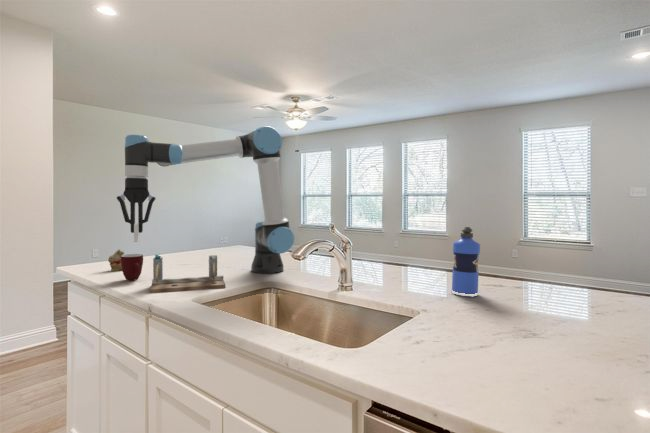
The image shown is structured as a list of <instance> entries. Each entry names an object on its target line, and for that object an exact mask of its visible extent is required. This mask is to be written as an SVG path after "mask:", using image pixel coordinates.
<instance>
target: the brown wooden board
mask: <svg viewBox="0 0 650 433" xmlns="http://www.w3.org/2000/svg"><path fill="white" fill-rule="evenodd" d="M222 288H223V289H225V288H226V283H225V280H224V275H217V276H215V279H213V277H209V275H208V276H193V277H192V276H191V277H176V278H175V277H174V278H162V280H158V282H156V280H153V279H152V280H151V286H150V289H149V293H150V294H151V293H152V292H154V293H165V292H167V293H168V292H178V291H180V292H181V291H182V292H183V291H193V290H207V289H208V290H212V289H222Z"/></svg>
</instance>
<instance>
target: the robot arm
mask: <svg viewBox="0 0 650 433" xmlns="http://www.w3.org/2000/svg"><path fill="white" fill-rule="evenodd" d="M124 138H125V139H124V141H125V142H124V176H125V179H124V188H125V189H124V191H123V193H122V194H121V195H117V196H116V200H117V201H118V202H119V204H120V208H121V211H122V215H123V216H122V217H123V219H124V222H125V223H128V224H130V233H133V242H134V243H138V242H140V233H143V231H144V230H143V227H144V226H143V225H144V224H145V223H147V222H149V218H150V214H151V212H152V207H153V204H154V202H155V200H156V199H157V198H156V197H155V196H152V195H151V194H150V192H149V179H148V177H149V163H151V164H152V163H153V164H154V163H156V164H157V165H159V166H161V167H162V168H163V167H164V168H165V167H170V166H175V165H181V164H189V163H196V162H204V161H210V160H217V159H223V158H224V159H225V158H234V157H238V158H240V159H242V158H244V159H245V158H252V160H253V162H254V163H255V164H256V165H257V171H258V179H259V185H260V194H261V200H262V207H263V216H264V221H259V222H256V224H255V226H254V227H255V228H254V234H255V235H254V236H255V237H254V238H255V239H254V242H255V244H254V245H255V246H254V253H255V254H254V257H253V260H252V261H251V262H252V263H251V267H250V268H251V270H250V271H251V272H253V273H257V274H274V273H275V272H277V273H281V272H283V271H284V264H283V263H284V262H283V260H282V257H281V256H282V255H281V254H285V253H287V252H289V251H290V250H291V248H293V245H294V243H295V235H294V232H293V231H292V229H291V227H290V223H289V219H288V218H287V217H285V212H284V211H285V210H284V203H283V201H284V200H283V194H282V187H281V178H280V172H279V163H278V162H279V161H280V159H281V152H280V149H281V148H282V145H283V139H282V136H281V134H280V132H279V131H278V130H277V129H276V128H274V127H273V126H269V125H265V126H261V127H257V128H256V129H255V130H253V131H251V132H249V133H247V134H244V135H238V136H237V135H236V137H235V138H232V139H224V140H215V141H206V142H200V143H199V142H198V143H191V144H182V145H181V144H176V143H163V142H153V141H152V142H151V141H149V138H148V136H145V135H140V134H128V135H126V136H125V137H124ZM147 199H148V200H147ZM125 200H127V201H128V202H129V206H130V217H129V214H128V209H127V205H126V202H125ZM146 200H147V201H148V204H147V207H146V210H145V215H143V214H144V211H143V210H144V209H143V208H144V207H143V206H144V202H145V201H146ZM136 204H137V209H138V210H137V211H138V213H137V214H138V218H137V221H138V223H136ZM143 216H144V218H143ZM280 271H281V272H280Z"/></svg>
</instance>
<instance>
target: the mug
mask: <svg viewBox="0 0 650 433" xmlns="http://www.w3.org/2000/svg"><path fill="white" fill-rule="evenodd" d="M143 263H144V254H142V253H131V254H130V253H129V254H123V255H122V256H121V266H122V271H121V272H122V274H123V276H124V278H125V279H126V281H129V282H130V281H131V282H132V281H137V280H139V278H140V276H141V274H142V269H143V265H144V264H143Z"/></svg>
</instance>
